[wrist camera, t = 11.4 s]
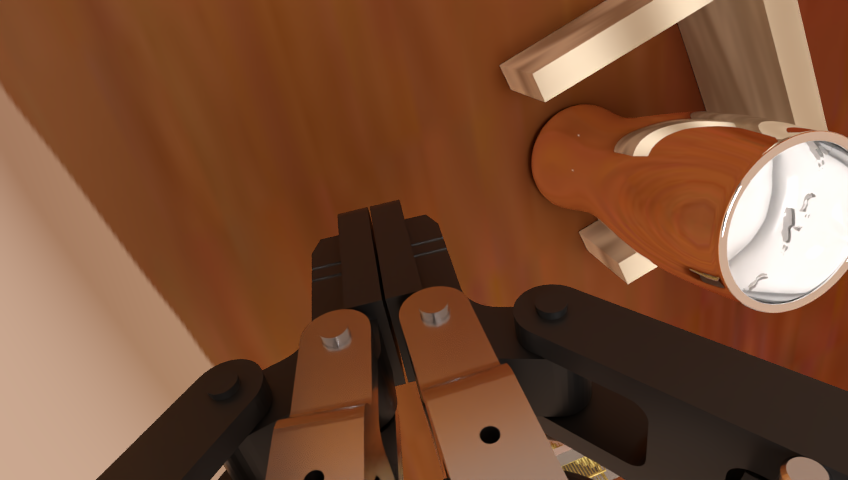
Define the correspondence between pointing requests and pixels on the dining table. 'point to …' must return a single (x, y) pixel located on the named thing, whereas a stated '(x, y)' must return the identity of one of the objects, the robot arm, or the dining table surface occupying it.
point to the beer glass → (708, 197)
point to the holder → (711, 61)
